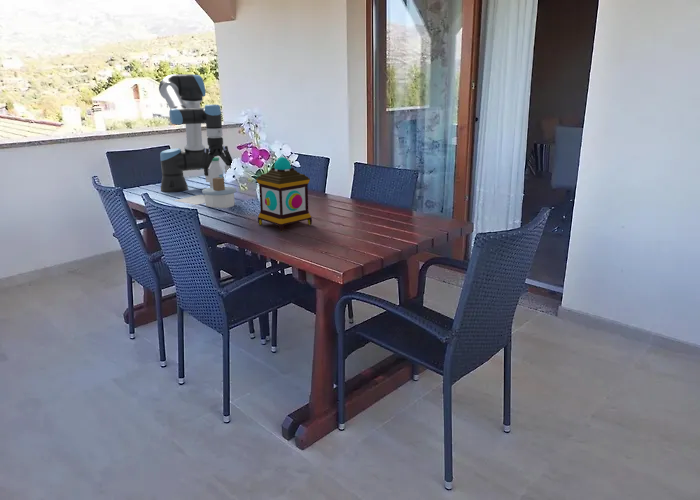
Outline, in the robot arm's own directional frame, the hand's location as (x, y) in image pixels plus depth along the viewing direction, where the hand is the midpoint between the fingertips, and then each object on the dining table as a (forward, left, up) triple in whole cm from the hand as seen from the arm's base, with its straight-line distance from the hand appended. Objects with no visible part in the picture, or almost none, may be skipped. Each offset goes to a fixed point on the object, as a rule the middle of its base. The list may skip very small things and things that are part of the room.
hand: (218, 180), depth 256 cm
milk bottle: (-25, +21, -13) cm, 35 cm away
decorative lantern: (+52, -10, -13) cm, 55 cm away
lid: (0, 0, -6) cm, 6 cm away
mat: (-18, +1, -13) cm, 22 cm away
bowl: (0, 0, -13) cm, 13 cm away
